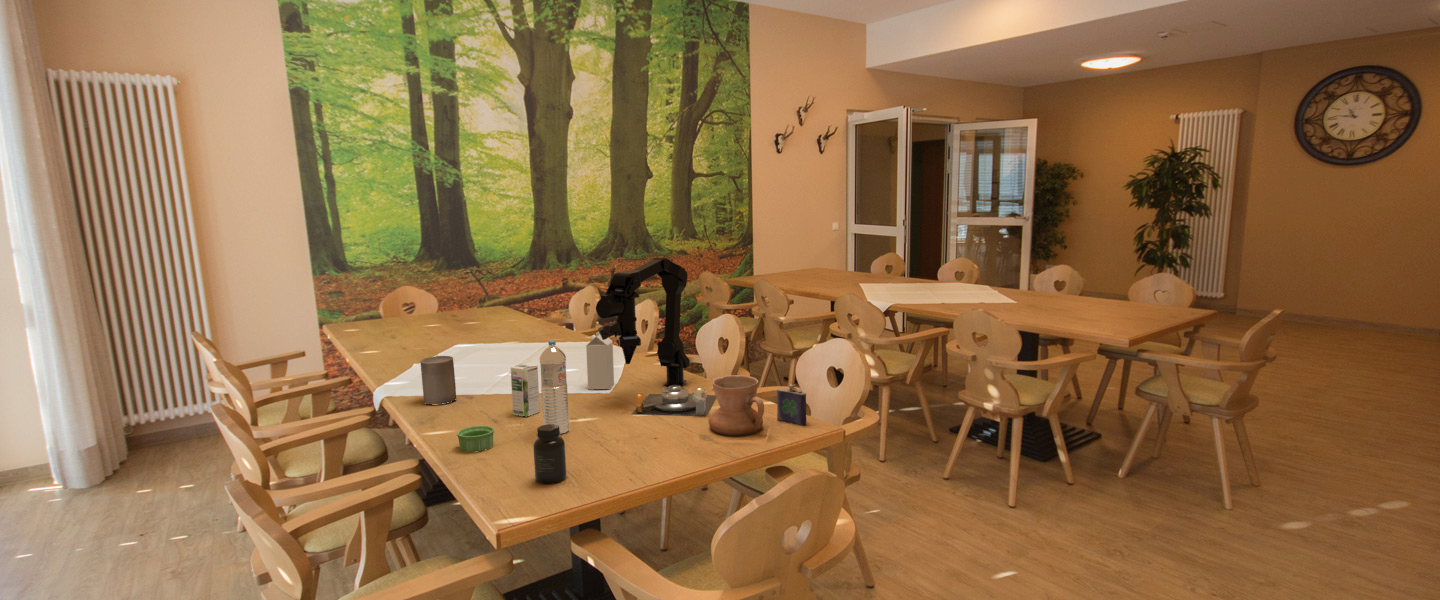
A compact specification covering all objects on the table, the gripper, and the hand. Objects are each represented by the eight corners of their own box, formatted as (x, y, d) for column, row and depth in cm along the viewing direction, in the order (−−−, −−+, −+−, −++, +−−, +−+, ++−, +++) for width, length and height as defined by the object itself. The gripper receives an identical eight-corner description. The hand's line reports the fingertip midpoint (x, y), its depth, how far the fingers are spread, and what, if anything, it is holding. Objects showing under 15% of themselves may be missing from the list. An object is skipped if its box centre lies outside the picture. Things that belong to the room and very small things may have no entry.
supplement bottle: (545, 471, 166) (542, 421, 164) (571, 474, 164) (569, 423, 162) (529, 483, 159) (526, 431, 157) (556, 486, 157) (554, 433, 155)
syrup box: (512, 415, 210) (509, 366, 208) (526, 409, 215) (523, 362, 213) (526, 417, 207) (524, 368, 205) (540, 412, 212) (538, 364, 210)
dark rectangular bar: (694, 412, 206) (694, 385, 205) (708, 413, 205) (708, 385, 204) (692, 416, 203) (692, 388, 201) (706, 416, 202) (706, 389, 201)
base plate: (649, 396, 227) (649, 393, 227) (718, 398, 224) (718, 395, 224) (631, 417, 205) (630, 414, 205) (706, 419, 202) (706, 416, 202)
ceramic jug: (694, 431, 193) (693, 379, 190) (732, 418, 203) (732, 369, 200) (742, 448, 180) (741, 393, 178) (780, 434, 190) (780, 382, 187)
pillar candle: (457, 396, 232) (453, 350, 230) (456, 403, 223) (452, 356, 220) (424, 399, 229) (420, 353, 227) (422, 407, 220) (418, 359, 217)
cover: (656, 399, 215) (656, 385, 215) (679, 395, 220) (679, 381, 219) (670, 405, 209) (669, 391, 208) (693, 400, 213) (693, 387, 213)
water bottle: (560, 426, 199) (556, 337, 196) (574, 431, 194) (570, 340, 191) (538, 431, 194) (533, 341, 191) (552, 437, 189) (547, 344, 186)
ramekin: (466, 441, 188) (465, 425, 187) (500, 441, 187) (499, 425, 187) (452, 453, 179) (451, 436, 178) (487, 453, 179) (486, 436, 178)
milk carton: (614, 384, 243) (612, 329, 240) (609, 390, 236) (606, 333, 233) (593, 384, 243) (591, 329, 241) (587, 390, 236) (585, 333, 234)
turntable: (623, 405, 213) (622, 389, 212) (684, 393, 226) (684, 377, 225) (649, 418, 200) (649, 401, 200) (713, 404, 213) (713, 388, 212)
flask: (775, 420, 201) (775, 383, 199) (781, 418, 203) (781, 381, 201) (803, 427, 195) (803, 388, 193) (809, 424, 197) (809, 386, 196)
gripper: (596, 310, 225) (598, 359, 227) (601, 320, 207) (604, 372, 209) (632, 308, 228) (633, 356, 230) (640, 317, 210) (642, 370, 212)
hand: (627, 363), depth 220 cm, fingers closed
